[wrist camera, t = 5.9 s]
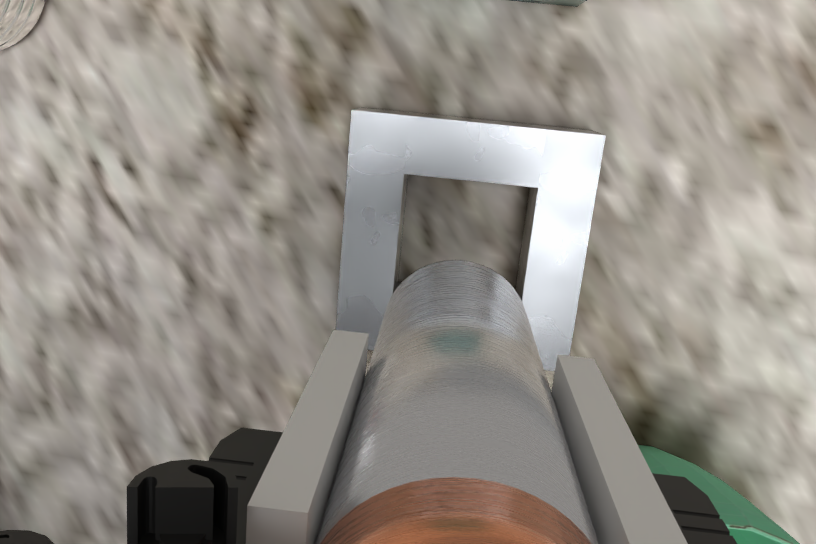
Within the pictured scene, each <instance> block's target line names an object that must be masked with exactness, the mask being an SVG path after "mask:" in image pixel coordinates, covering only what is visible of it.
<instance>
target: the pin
mask: <svg viewBox="0 0 816 544" xmlns="http://www.w3.org/2000/svg"><path fill="white" fill-rule="evenodd" d="M316 544H599V542H598V539H597V536H596V533H595V530H594V527H593V523H592V520H591V517H590V514H589V511H588V508H587V504H586V501H585V498H584V495H583V492H582V489H581V485H580V482H579V479H578V476H577V473H576V469H575V466H574V463H573V460H572V457H571V454H570V450H569V447H568V444H567V441H566V438H565V435H564V431H563V428H562V425H561V422H560V419H559V416H558V412H557V409H556V406H555V403H554V400H553V396H552V393H551V390H550V387H549V384H548V381H547V377H546V374H545V371H544V368H543V365H542V362H541V358H540V355H539V352H538V349H537V346H536V343H535V339H534V336H533V333H532V330H531V327H530V324H529V320H528V317H527V314H526V311H525V308H524V305H523V303H522V301H521V299H520V297H519V295H518V293H517V292H516V291H515V289H514V288H513V287H512V285H511V284H510V283H509V282H508V281H507V280H506V279H505V278H503V277H502V276H501V275H500V274H498V273H497V272H495V271H493V270H492V269H490V268H488V267H485V266H483V265H480V264H477V263H474V262H469V261H462V260H449V261H441V262H437V263H433V264H430V265H427V266H425V267H423V268H421V269H419V270H417V271H415V272H414V273H412V274H411V275H409V276H408V277H407V278H406V279H405V280H404V281H403V282H402V283H401V284H400V285H399V286H398V287H397V289H396V290H395V291H394V293H393V295H392V296H391V298H390V300H389V302H388V305H387V308H386V311H385V314H384V317H383V321H382V324H381V327H380V331H379V334H378V337H377V341H376V344H375V347H374V351H373V354H372V357H371V361H370V364H369V367H368V371H367V374H366V377H365V381H364V384H363V387H362V391H361V394H360V397H359V401H358V404H357V407H356V411H355V414H354V417H353V421H352V424H351V427H350V431H349V434H348V437H347V441H346V444H345V447H344V451H343V454H342V457H341V461H340V464H339V467H338V471H337V474H336V477H335V481H334V484H333V487H332V491H331V494H330V497H329V501H328V504H327V507H326V511H325V514H324V517H323V521H322V524H321V527H320V531H319V534H318V537H317V541H316Z"/></svg>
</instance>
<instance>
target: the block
mask: <svg viewBox="0 0 816 544" xmlns="http://www.w3.org/2000/svg"><path fill="white" fill-rule="evenodd" d="M605 136H606V135H603V134H601V133H598V132H595V131H593V130H585V129H575V128H565V127H554V126H544V125H534V124H524V123H514V122H504V121H494V120H484V119H474V118H464V117H454V116H444V115H434V114H424V113H414V112H404V111H394V110H384V109H374V108H364V107H361V108H357V109H353V110H351V123H350V137H349V151H348V165H347V179H346V193H345V207H344V221H343V235H342V249H341V263H340V277H339V291H338V305H337V319H336V330H341V331H350V332H359V333H368V334H369V337H368V348H367V350H374V347H375V344H376V341H377V337H378V334H379V331H380V327H381V324H382V321H383V317H384V314H385V311H386V308H387V305H388V302H389V300H390V298H391V296H392V295H393V293H394V291H395V290H396V289H397V287H398V286H399V285H400V284H401V283H402V282H398V277H399V266H400V256H401V245H402V234H403V224H404V213H405V202H406V192H407V181H408V174H410V175H419V176H429V177H439V178H448V179H458V180H468V181H477V182H487V183H497V184H506V185H516V186H526V187H530V189H529V196H528V203H527V210H526V217H525V224H524V232H523V239H522V246H521V253H520V260H519V267H518V275H517V282H516V289H515V291H516V292H517V293H518V295H519V297H520V299H521V301H522V303H523V305H524V308H525V311H526V314H527V317H528V320H529V324H530V327H531V330H532V333H533V336H534V339H535V343H536V346H537V349H538V352H539V355H540V358H541V362H542V365H543V368H544V370H549V371H555V367H556V361H557V354H558V355H567V356H569V355H570V349H571V343H572V337H573V331H574V325H575V318H576V312H577V306H578V300H579V294H580V288H581V282H582V276H583V270H584V264H585V258H586V252H587V246H588V240H589V233H590V227H591V221H592V215H593V209H594V203H595V197H596V191H597V185H598V179H599V173H600V167H601V161H602V154H603V148H604V142H605Z"/></svg>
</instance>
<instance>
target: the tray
mask: <svg viewBox="0 0 816 544" xmlns="http://www.w3.org/2000/svg"><path fill="white" fill-rule="evenodd" d="M511 1H522V2H532V3H543V4H554V5H565V6H576V7H577V6H579V5H580V4H582V3H584V2H585V1H587V0H511Z"/></svg>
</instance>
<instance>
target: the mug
mask: <svg viewBox="0 0 816 544" xmlns="http://www.w3.org/2000/svg"><path fill="white" fill-rule="evenodd" d="M638 447H639V449H640V451H641V453H642V455H643V457H644V459H645V461H646V463H647V464H648V466H649V468H650V470H651V472H652V473H654V474H663V475H672V476H680V477H685V478H687V479H688V480H689V481H690V482H692V483H693V484H694V485H695V486H697V487H698V488H699V489H700V490H701V491H703V492H704V493H705V494H706V495H708V497H709V499H710V500H711V502H712V503H713V505H714V507H715V508H716V510H717V512H718V513H719V515H720V519H722V520H723V521H724V523H725V525H726V526H727V528H728V529H729V531H730V536H733V538H734V539H735V541H736V542H737V544H800V543H798V542H797V541H796V540H795V539H794V538H793V537H791V536H790V535H789V534H788V533H787V532H785V531H784V530H783V529H782V528H781V527H780V526H778V525H777V524H776V523H775V522H773V521H772V520H771V519H770V518H768V517H767V516H766V515H765V514H764V513H762V512H761V511H760V510H759V509H758V508H756V507H755V506H754V505H753V504H752V503H750V502H749V501H748V500H747V499H745V498H744V497H743V496H742V495H740V494H739V493H738V492H736V491H735V490H734V489H732V488H731V487H730V486H729V485H727V484H726V483H725V482H723V481H722V480H720V479H719V478H717V477H715V476H714V475H712V474H710V473H709V472H707V471H705V470H703V469H702V468H700V467H698V466H697V465H695V464H693V463H691V462H688V461H686V460H684V459H681V458H679V457H676V456H674V455H672V454H669V453H667V452H665V451H662V450H660V449H657V448H655V447H652V446H644V445H638Z"/></svg>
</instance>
